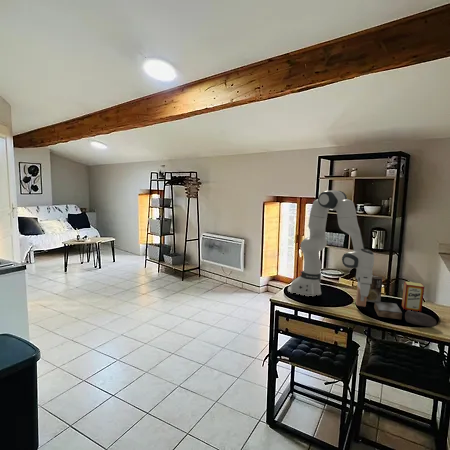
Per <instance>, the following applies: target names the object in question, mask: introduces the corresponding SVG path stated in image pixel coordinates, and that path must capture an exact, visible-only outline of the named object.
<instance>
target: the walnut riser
mask: <svg viewBox="0 0 450 450" xmlns="http://www.w3.org/2000/svg"><path fill="white" fill-rule="evenodd" d="M373 303H374V302H373ZM373 308H374V311H375V312H376V315H377V317H379V318H380V317H381V318H387V319H396V320H402V318H403V317H402V316H403V312H402V310H401V308H400V307H399V306H398V304H397V303H393V302H383V301H380V302H378V301H375V303H374V305H373Z"/></svg>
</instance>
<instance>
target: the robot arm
mask: <svg viewBox="0 0 450 450" xmlns="http://www.w3.org/2000/svg"><path fill="white" fill-rule="evenodd" d="M333 209H334V210H335V211H336V215H337V224H338V227H339V230H341V231H342V232H343V233H346V234H347V235H349V237H350V238H351V242H352V247H353V251H349V252H345V253H344V254H343V255H342V257H341V262H342V265H343V266H344V267H345V268H350V269H356V272H355V279H356V280H357V287H359V289H360V294H361V297H360V300H361V301H364V297H367V296H368V294H369V289H370V284H372V275H373V272H374V271H373V268H374V265H375V254H374V252H373V251H372V250H370V249H367V248H365V245H364V241H363V236H362V231H361V228H360V226H359V223H358V217H357V210H356V207H355V203H354V202H353V200H352V199H348V197H347V195H346V193H344V191H341V190H334V189H332V190H324V191H322V192H321V193H320V194H318V198H317V199H314V200H313V202H312V205H311V208H310V213H309V219H308V225H307V226H308V230H309V236H308V237H306V238H304V239H303V240H302V241H301V242H300V249H301V251H302V255H303V269H301V270H300V271H299V273H300V274H299V275H300V276H298V277H296V278H295V279H293V280H292V282H291V285H289V286H288V287H287V292H288V293H289V292H290V293H289V294H293V293H296V294H295V295H299V294H300V296H304V295H305V297H309V296H312V297H315V296H316V295H317V296H321V295H322V289H321V280H322V273H321V271H322V261H321V259H320V251H323V250H325V248H326V247H327V244H328V242H327V241H328V240H327V239H326V237H327V236H326V235H327V234H326V227H327V220H328V219H327V218H328V213H329V210H333Z"/></svg>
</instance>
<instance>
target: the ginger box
mask: <svg viewBox="0 0 450 450" xmlns="http://www.w3.org/2000/svg"><path fill="white" fill-rule="evenodd" d="M403 282H404V283H403V291H402V300H401V307H402V308H403V309H402V310H404V309H405V311H408V310H412V311H416V312H418V311H419V312H420V313H422V309H423V303H424V302H423V301H424V294H425V293H424V292H425V286H424V284H423V283H420V282H414V281H403Z"/></svg>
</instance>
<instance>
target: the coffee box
mask: <svg viewBox="0 0 450 450" xmlns="http://www.w3.org/2000/svg"><path fill="white" fill-rule="evenodd" d="M383 279H384V278H383V276H381V275H373V274H372V284H370V289H369V294H368V296H367V299H366V302H370V303H375V301H378V302H382V301H381V300H382V287H383Z"/></svg>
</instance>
